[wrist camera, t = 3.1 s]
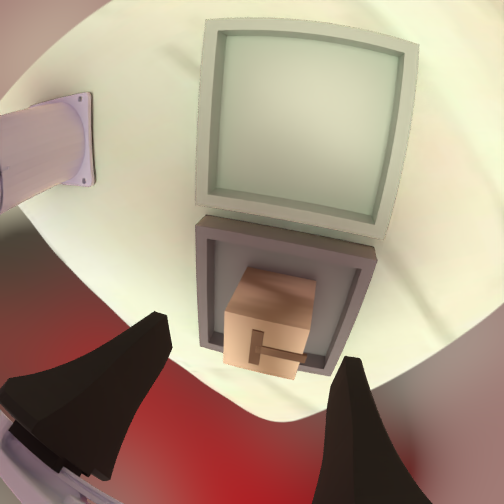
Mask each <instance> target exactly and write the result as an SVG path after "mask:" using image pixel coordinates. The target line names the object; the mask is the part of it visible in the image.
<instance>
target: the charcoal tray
mask: <svg viewBox="0 0 504 504" xmlns="http://www.w3.org/2000/svg"><path fill="white" fill-rule="evenodd" d="M195 232H196V278H197V303H198V323H199V339H200V346H201V347H205V348H208V349H211V350H215V351H219V352H222V353H224V313H225V309H226V307H227V305H228V303H229V301H230V299H231V297H232V296H233V294H234V292H235V290H236V288H237V286H238V284H239V282H240V280H241V278H242V276H243V274H244V272H245V270H246V268H247V267H251V268H256V269H260V270H265V271H270V272H275V273H280V274H285V275H289V276H294V277H299V278H304V279H309V280H314V281H316V289H315V297H314V305H313V312H312V320H311V327H310V332H309V335H308V338H307V342H306V345H305V348H304V351H303V353H305V354H307V358H306V361H305V363H301V362H300V363H299V366H298V369H297V370H298V371H303V372H309V373H314V374H320V375H325V376H331V374H332V372H333V370H334V368H335V366H336V364H337V361H338V359H339V357H340V355H341V353H342V351H343V348H344V346H345V344H346V341H347V339H348V337H349V334H350V332H351V330H352V327H353V325H354V323H355V320H356V318H357V315H358V313H359V310H360V307H361V305H362V302H363V300H364V297H365V294H366V292H367V289H368V286H369V283H370V281H371V278H372V275H373V272H374V269H375V266H376V263H377V257H376V253H375V249H374V247H372V246H367V245H362V244H357V243H353V242H348V241H343V240H338V239H333V238H328V237H323V236H318V235H313V234H308V233H303V232H298V231H293V230H287V229H282V228H277V227H271V226H266V225H260V224H255V223H249V222H244V221H238V220H233V219H227V218H221V217H215V216H209V215H206V216H205V217H203V218H202V219H201V220H200V221H199V222H198V223H197V224H196V225H195Z"/></svg>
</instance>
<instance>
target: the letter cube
mask: <svg viewBox="0 0 504 504" xmlns="http://www.w3.org/2000/svg"><path fill="white" fill-rule="evenodd" d="M315 289H316V281H314V280H309V279H304V278H299V277H294V276H289V275H285V274H280V273H275V272H270V271H265V270H260V269H256V268H251V267H247V268H246V270H245V272H244V274H243V276H242V278H241V280H240V282H239V284H238V286H237V288H236V290H235V292H234V294H233V296H232V297H231V299H230V301H229V303H228V305H227V307H226V309H225V313H224V355H223V363H225V364H228V365H232V366H236V367H240V368H244V369H248V370H252V371H256V372H260V373H264V374H268V375H273V376H277V377H282V378H287V379H292V380H294V378H295V375H296V372H297V369H298V366H299V363H300V362H301V363H305V361H306V358H307V354H305V353H303V351H304V348H305V345H306V342H307V338H308V335H309V332H310V327H311V320H312V312H313V305H314V297H315Z"/></svg>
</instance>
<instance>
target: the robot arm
mask: <svg viewBox="0 0 504 504" xmlns="http://www.w3.org/2000/svg"><path fill="white" fill-rule="evenodd" d="M81 98H82V100H81ZM85 180H86V181H85ZM94 181H95V180H94V169H93V155H92V136H91V94H90V93H89V92H84V93H79V94H74V95H70V96H65V97H61V98H57V99H53V100H50V101H46V102H42V103H39V104H35V105H32V106H30V107H29V108H28V109H24V110H19V111H15V112H11V113H8V114H4V115H0V214H2V213H4V212H6V211H7V210H9V209H11V208H13V207H15V206H16V205H18V204H20V203H22V202H24V201H26V200H28V199H30V198H32V197H34V196H35V195H37V194H39V193H41V192H44V191H46V190H48V189H50V188H52V187H54V186H56V185H58V184H65V185H76V186H86V187H90V186H92V185H94ZM171 350H172V342H171V337H170V331H169V325H168V319H167V315H165V314H161V313H158V312H155V311H154V312H153V313H151V314H150V315H148V316H147V317H145V318H144V319H142V320H141V321H139V322H138V323H136V324H135V325H133V326H132V327H130V328H129V329H127V330H126V331H124V332H123V333H121V334H120V335H118V336H117V337H115V338H114V339H112V340H110V341H109V342H107V343H105V344H104V345H102V346H100V347H99V348H97V349H95V350H93V351H92V352H90V353H88V354H86V355H84V356H82V357H80V358H77V359H75V360H73V361H71V362H68V363H66V364H63V365H60V366H58V367H55V368H52V369H49V370H46V371H42V372H38V373H35V374H30V375H26V376H19V377H13V378H9V379H8V380H7V382H5V384H4V385H3V386H2V387H1V389H0V404H1V405H2V406H3V407H4V408H5V409H6V410H7V411H8V412H9V414H11V416H12V417H13V418H14V419H15V421H14V423H13V422H12V421H11V420H10V419H9V418H8V417H7V416H6V415H5V414H3V412H2V411H1V410H0V477H1V478H2V479H3V481H4V482H5V483H6V484H7V486H8V487H9V488H10V490H11V491H12V492H13V493H14V494H15V496H16V497H17V498H18V499H19V500H20V502H21V503H22V504H90V503H88V502H87V498H88V499H90V500H92V501H93V502H95V503H96V504H123V503H122V502H120V501H118V500H116V499H114V498H112V497H110V496H109V495H107V494H105V493H103V492H102V491H100V490H98V489H97V488H95V487H93V486H92V485H90V484H89V483H87V482H86V481H84V480H83V479H81V478H80V475H81V474H84V475H85V476H87V477H89V476H90V475H91V474H92V475H94V476H95V477H97V478H98V479H100V480H102V481H108V480H110V479H111V475H112V472H113V468H114V465H115V461H116V459H117V456H118V453H119V450H120V447H121V445H122V442H123V440H124V438H125V435H126V433H127V430H128V428H129V426H130V423H131V422H132V419H133V417H134V415H135V413H136V411H137V409H138V408H139V406H140V404H141V402H142V401H143V399H144V398H145V396H146V395H147V393H148V391H149V390H150V388H151V387H152V385H153V384H154V382H155V380H156V379H157V377H158V376H159V374H160V372H161V371H162V369H163V368H164V365H165V363H166V361H167V359H168V357H169V355H170V352H171ZM86 497H87V498H86ZM312 504H432V503H431V502H430V500H429V499H428V498H427V497H426V496H425V494H424V493H423V492H422V491H421V489H420V488H419V487H418V485H417V484H416V482H415V481H414V480H413V478H412V476H411V475H410V473H409V472H408V470H407V469H406V467H405V466H404V464H403V462H402V461H401V459H400V457H399V455H398V454H397V452H396V450H395V448H394V446H393V444H392V442H391V440H390V438H389V436H388V434H387V431H386V429H385V427H384V425H383V423H382V420H381V418H380V415H379V413H378V410H377V407H376V404H375V402H374V399H373V396H372V393H371V391H370V387H369V384H368V381H367V378H366V375H365V372H364V368H363V365H362V361H361V359H360V358H355V357H349V356H344V359H343V361H342V363H341V365H340V367H339V370H338V372H337V374H336V376H335V378H334V380H333V382H332V384H331V387H330V393H329V398H328V404H327V413H326V428H325V440H324V452H323V460H322V466H321V470H320V475H319V479H318V483H317V487H316V491H315V494H314V498H313V501H312Z"/></svg>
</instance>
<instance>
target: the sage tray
mask: <svg viewBox="0 0 504 504" xmlns="http://www.w3.org/2000/svg"><path fill="white" fill-rule="evenodd" d="M418 60H419V44H416V43H413V42H410V41H406V40H403V39H400V38H396V37H393V36H389V35H385V34H381V33H377V32H373V31H369V30H364V29H360V28H355V27H350V26H344V25H338V24H332V23H325V22H317V21H308V20H298V19H284V18H220V19H206V20H205V29H204V39H203V49H202V61H201V73H200V87H199V102H198V121H197V146H196V191H195V205H199V206H206V207H212V208H218V209H224V210H230V211H236V212H242V213H248V214H254V215H260V216H265V217H271V218H276V219H282V220H287V221H292V222H298V223H303V224H308V225H313V226H318V227H323V228H328V229H333V230H338V231H343V232H348V233H353V234H357V235H362V236H367V237H371V238H376V239H381V240H384V238H385V235H386V231H387V228H388V225H389V221H390V217H391V214H392V210H393V206H394V203H395V199H396V195H397V191H398V187H399V182H400V178H401V174H402V169H403V164H404V160H405V155H406V150H407V144H408V139H409V133H410V127H411V121H412V115H413V108H414V100H415V92H416V83H417V72H418Z"/></svg>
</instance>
